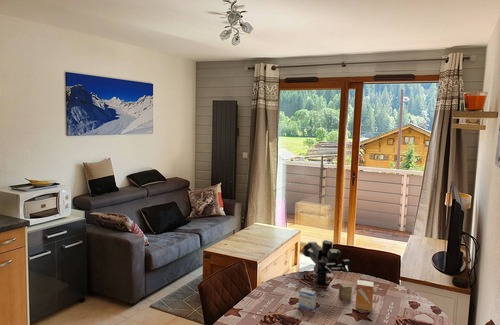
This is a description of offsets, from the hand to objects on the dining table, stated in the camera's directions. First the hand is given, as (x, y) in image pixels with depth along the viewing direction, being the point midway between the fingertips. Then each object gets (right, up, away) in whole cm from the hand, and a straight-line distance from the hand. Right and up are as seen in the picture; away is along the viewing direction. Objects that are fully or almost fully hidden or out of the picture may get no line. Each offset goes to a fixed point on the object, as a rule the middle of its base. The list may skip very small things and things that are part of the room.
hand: (339, 272), depth 202 cm
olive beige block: (+5, -16, +8) cm, 18 cm away
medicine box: (-17, -17, -4) cm, 25 cm away
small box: (+12, -17, -3) cm, 21 cm away
